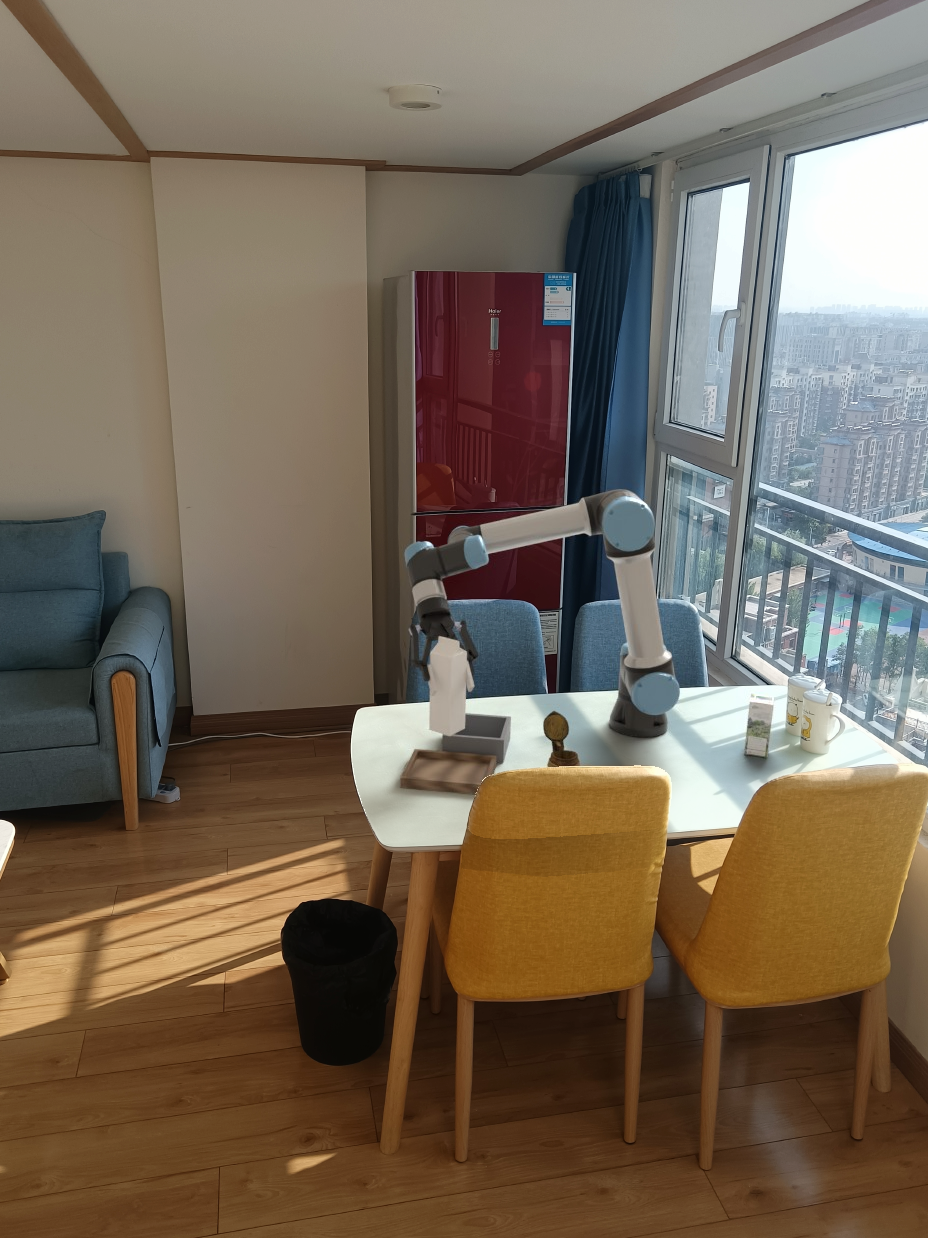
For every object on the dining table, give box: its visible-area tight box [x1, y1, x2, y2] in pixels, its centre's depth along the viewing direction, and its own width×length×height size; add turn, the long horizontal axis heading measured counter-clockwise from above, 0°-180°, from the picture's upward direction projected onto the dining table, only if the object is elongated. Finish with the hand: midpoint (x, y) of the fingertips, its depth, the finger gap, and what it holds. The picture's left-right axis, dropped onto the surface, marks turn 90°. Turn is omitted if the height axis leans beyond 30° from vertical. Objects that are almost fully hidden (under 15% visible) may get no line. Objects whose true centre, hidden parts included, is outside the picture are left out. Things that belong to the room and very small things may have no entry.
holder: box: [441, 712, 512, 764], centre depth 243 cm, size 15×15×6 cm
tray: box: [399, 748, 497, 795], centre depth 228 cm, size 20×16×2 cm
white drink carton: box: [743, 693, 775, 758], centre depth 242 cm, size 6×6×14 cm
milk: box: [428, 636, 467, 736], centre depth 222 cm, size 6×6×22 cm
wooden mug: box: [542, 710, 581, 768], centre depth 217 cm, size 9×14×18 cm, turn 13°
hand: (452, 691), depth 219 cm, fingers closed on milk, 8 cm apart
